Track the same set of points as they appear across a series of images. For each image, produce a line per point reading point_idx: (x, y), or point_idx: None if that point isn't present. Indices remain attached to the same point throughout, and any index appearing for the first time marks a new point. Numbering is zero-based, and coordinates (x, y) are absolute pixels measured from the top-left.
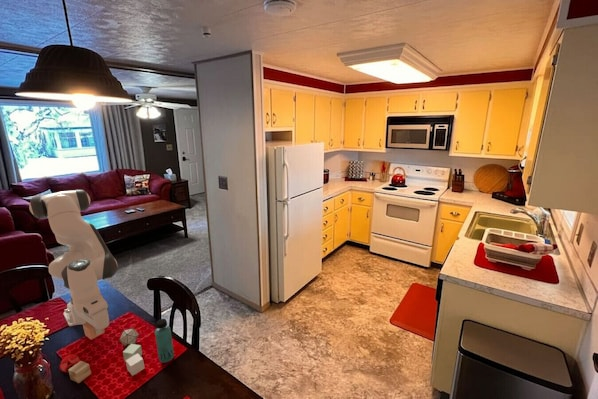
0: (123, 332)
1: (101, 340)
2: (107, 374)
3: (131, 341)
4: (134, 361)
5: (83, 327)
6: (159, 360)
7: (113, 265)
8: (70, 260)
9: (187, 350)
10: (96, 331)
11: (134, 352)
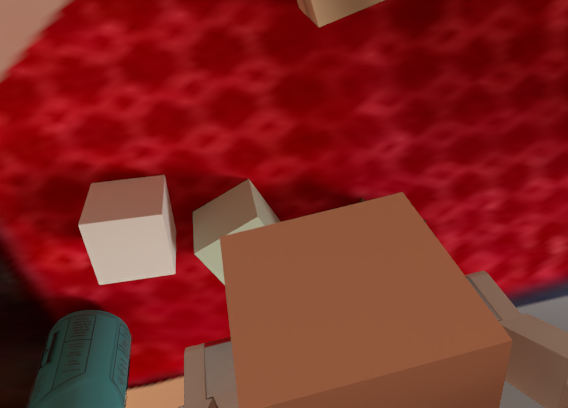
0: None
1: (529, 124)
2: (210, 83)
3: None
4: (110, 249)
5: (468, 288)
6: (76, 315)
7: None
8: None
9: None
10: (188, 398)
11: (203, 259)
